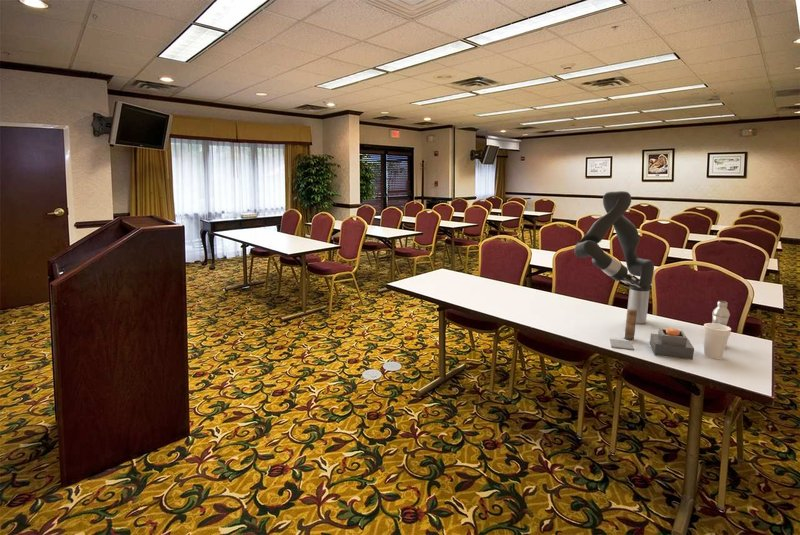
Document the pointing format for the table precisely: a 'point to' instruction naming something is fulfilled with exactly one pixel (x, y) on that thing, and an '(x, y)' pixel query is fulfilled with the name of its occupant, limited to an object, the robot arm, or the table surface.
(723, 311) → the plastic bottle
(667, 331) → the breaker button
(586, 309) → the table surface
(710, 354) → the foam cup
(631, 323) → the stick
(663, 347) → the grey button housing
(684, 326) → the table surface
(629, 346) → the mat
